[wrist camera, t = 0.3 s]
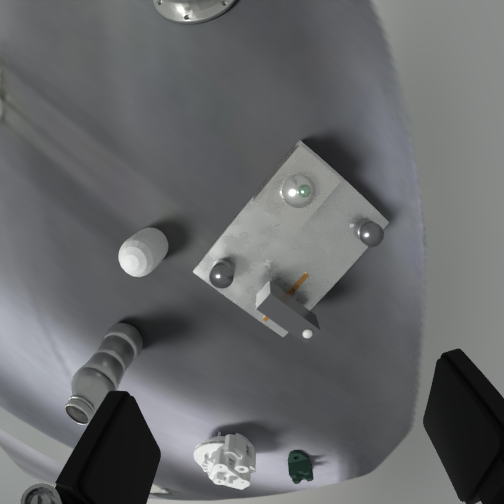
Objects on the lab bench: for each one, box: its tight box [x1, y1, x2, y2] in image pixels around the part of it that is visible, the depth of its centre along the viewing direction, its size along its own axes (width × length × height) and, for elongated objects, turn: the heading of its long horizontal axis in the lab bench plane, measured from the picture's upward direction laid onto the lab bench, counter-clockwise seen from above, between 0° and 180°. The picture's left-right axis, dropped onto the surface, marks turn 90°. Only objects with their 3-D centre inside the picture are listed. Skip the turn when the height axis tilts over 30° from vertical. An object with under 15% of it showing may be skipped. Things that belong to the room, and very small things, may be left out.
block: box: [256, 280, 320, 344], centre depth 39 cm, size 8×3×6 cm, turn 51°
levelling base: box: [193, 141, 389, 337], centre depth 39 cm, size 16×22×10 cm
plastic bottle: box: [65, 323, 143, 425], centre depth 39 cm, size 6×7×20 cm
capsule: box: [119, 227, 168, 277], centre depth 40 cm, size 5×5×8 cm
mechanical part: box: [194, 432, 256, 490], centre depth 50 cm, size 11×12×12 cm
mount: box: [288, 450, 313, 484], centre depth 56 cm, size 11×4×5 cm, turn 19°
